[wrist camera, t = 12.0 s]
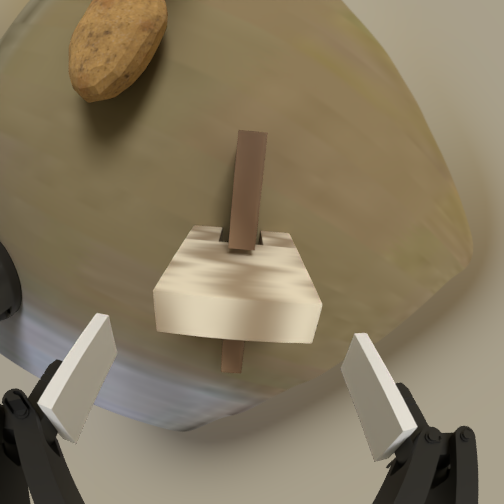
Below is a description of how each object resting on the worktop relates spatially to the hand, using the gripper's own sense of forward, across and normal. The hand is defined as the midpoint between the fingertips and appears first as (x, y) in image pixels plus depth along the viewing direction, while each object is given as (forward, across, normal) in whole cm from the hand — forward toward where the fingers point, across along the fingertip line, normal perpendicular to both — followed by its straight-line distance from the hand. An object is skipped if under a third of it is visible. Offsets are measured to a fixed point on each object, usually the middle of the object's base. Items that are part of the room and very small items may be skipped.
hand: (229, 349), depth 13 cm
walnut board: (+17, 0, 0) cm, 17 cm away
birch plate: (+17, 0, 0) cm, 17 cm away
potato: (+17, -14, +21) cm, 30 cm away
